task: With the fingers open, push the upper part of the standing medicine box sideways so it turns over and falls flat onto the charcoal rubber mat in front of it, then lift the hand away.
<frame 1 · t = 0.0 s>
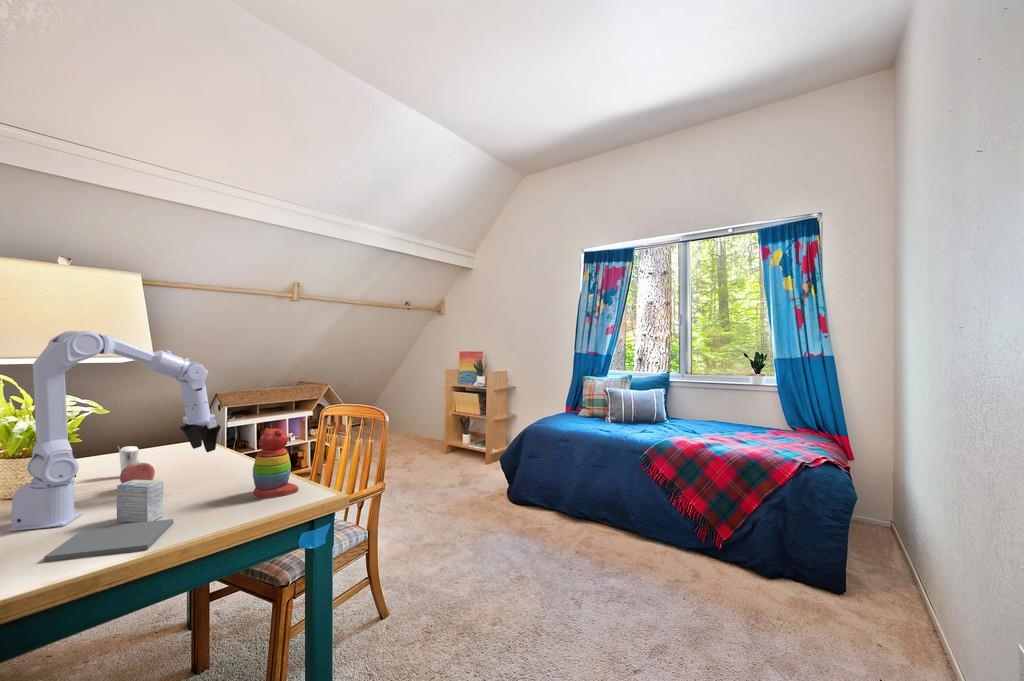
hand: (204, 449, 131), 11 cm above the table, tool pointing down, fingers open, 7 cm apart
stacking bear: (273, 493, 126), on the table
mat: (115, 540, 94), on the table
medicine box: (140, 520, 106), on the table
apple: (137, 490, 127), on the table
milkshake: (126, 477, 138), on the table
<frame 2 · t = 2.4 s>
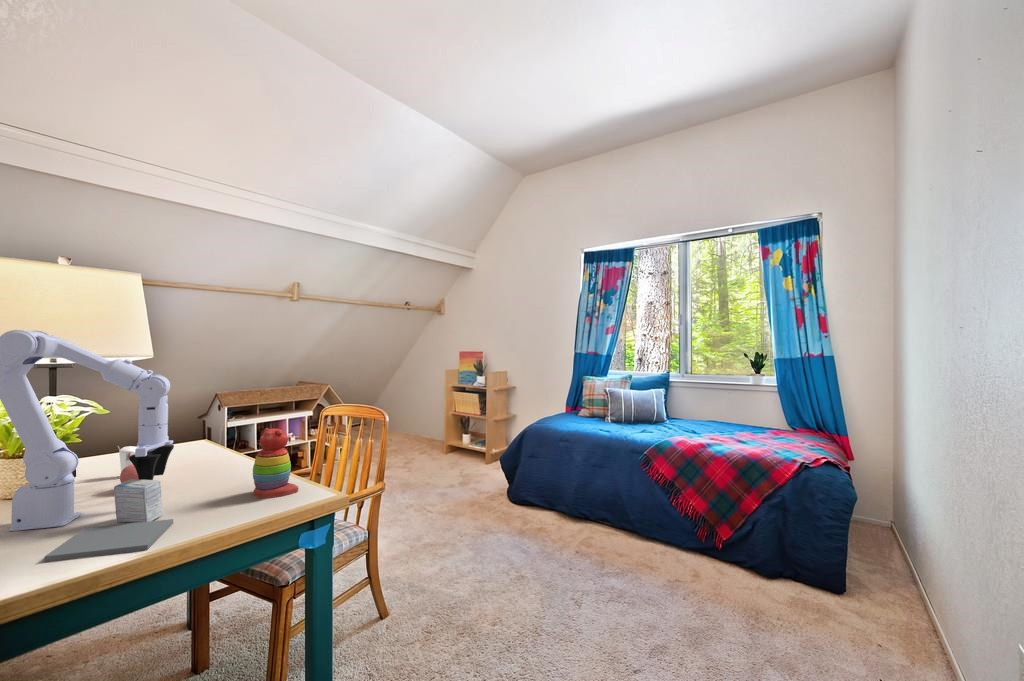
hand: (152, 479, 112), 8 cm above the table, tool pointing down, fingers open, 7 cm apart
medicine box: (140, 519, 106), on the table, touching gripper
everything else where it was.
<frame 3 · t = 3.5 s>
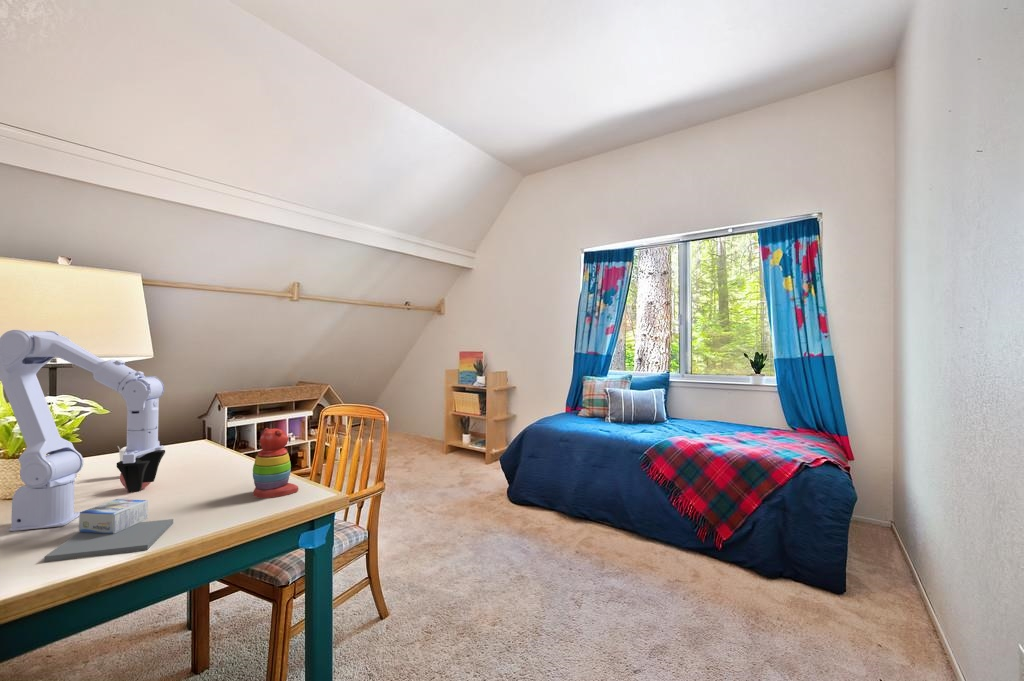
hand: (141, 486, 106), 8 cm above the table, tool pointing down, fingers open, 7 cm apart
medicine box: (133, 508, 104), point 3 cm above the table, touching mat
everything else where it was.
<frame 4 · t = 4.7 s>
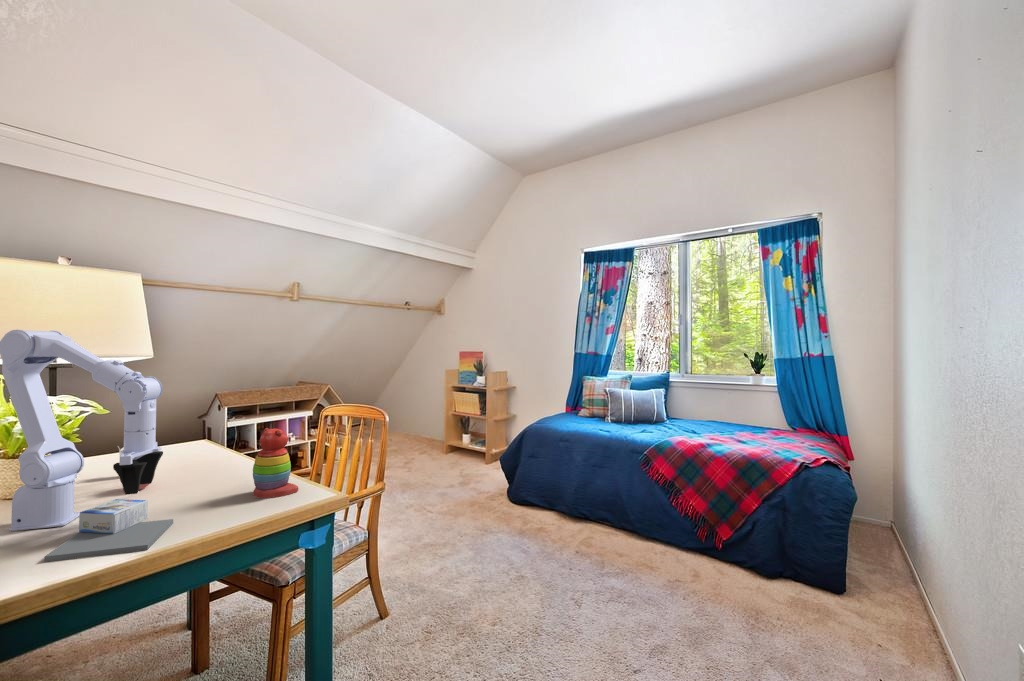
hand: (139, 488, 105), 8 cm above the table, tool pointing down, fingers open, 7 cm apart
nothing on the table moved.
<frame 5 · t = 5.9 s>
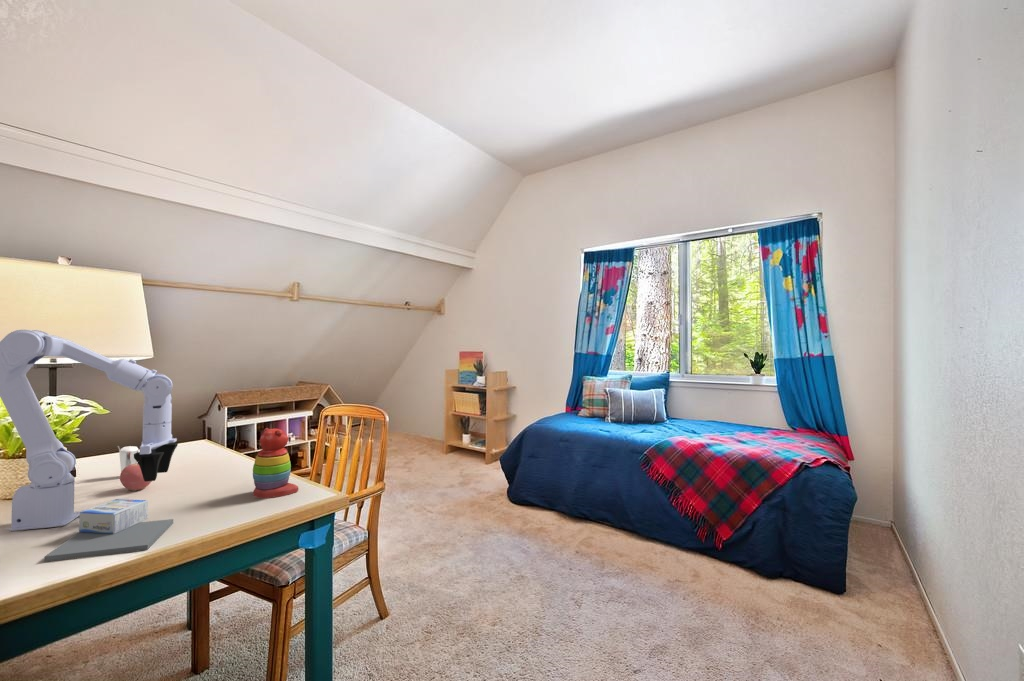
hand: (156, 476, 114), 8 cm above the table, tool pointing down, fingers open, 7 cm apart
nothing on the table moved.
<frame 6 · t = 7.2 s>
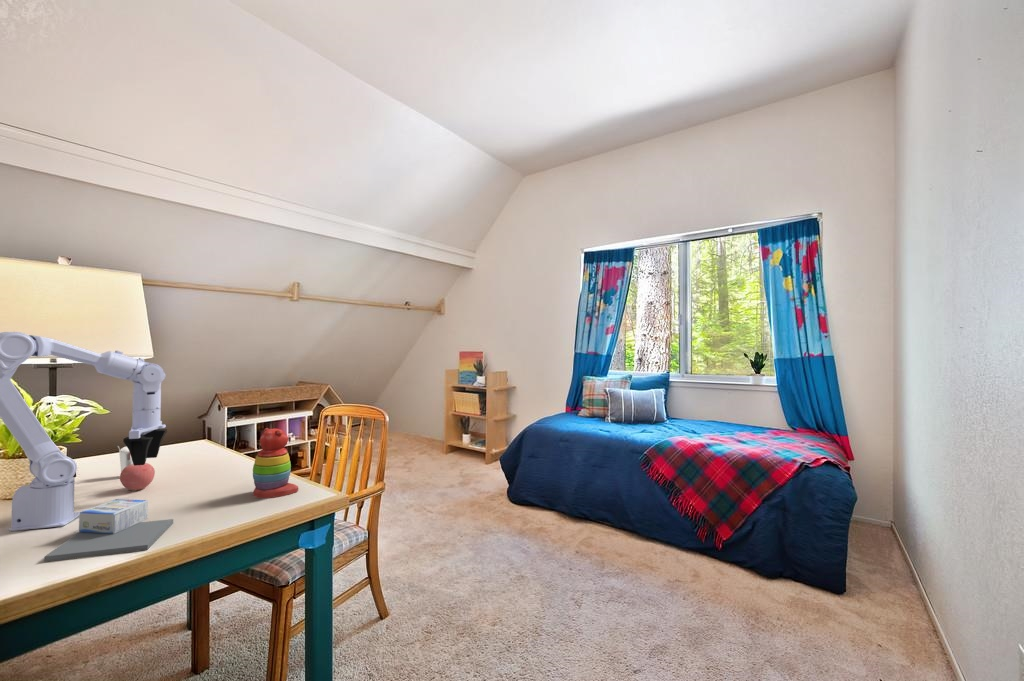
hand: (145, 461, 117), 10 cm above the table, tool pointing down, fingers open, 7 cm apart
nothing on the table moved.
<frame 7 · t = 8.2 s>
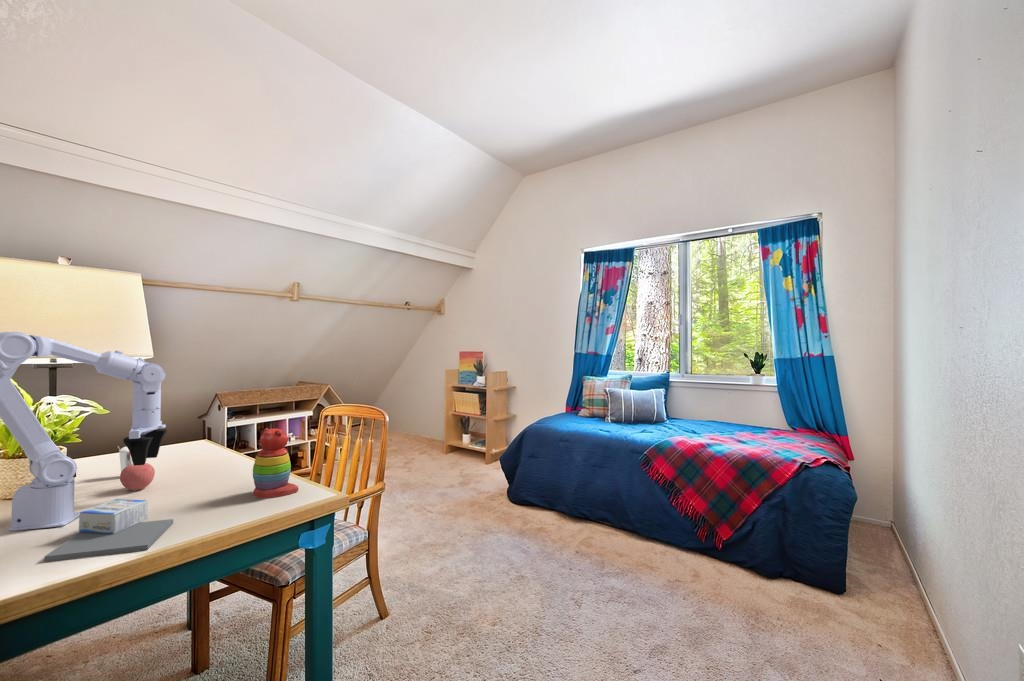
hand: (145, 461, 117), 10 cm above the table, tool pointing down, fingers open, 7 cm apart
nothing on the table moved.
at the end: medicine box tilted 89°; medicine box inside the target area (6.5 cm from its centre), point 3.1 cm above the table; medicine box touching mat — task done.
